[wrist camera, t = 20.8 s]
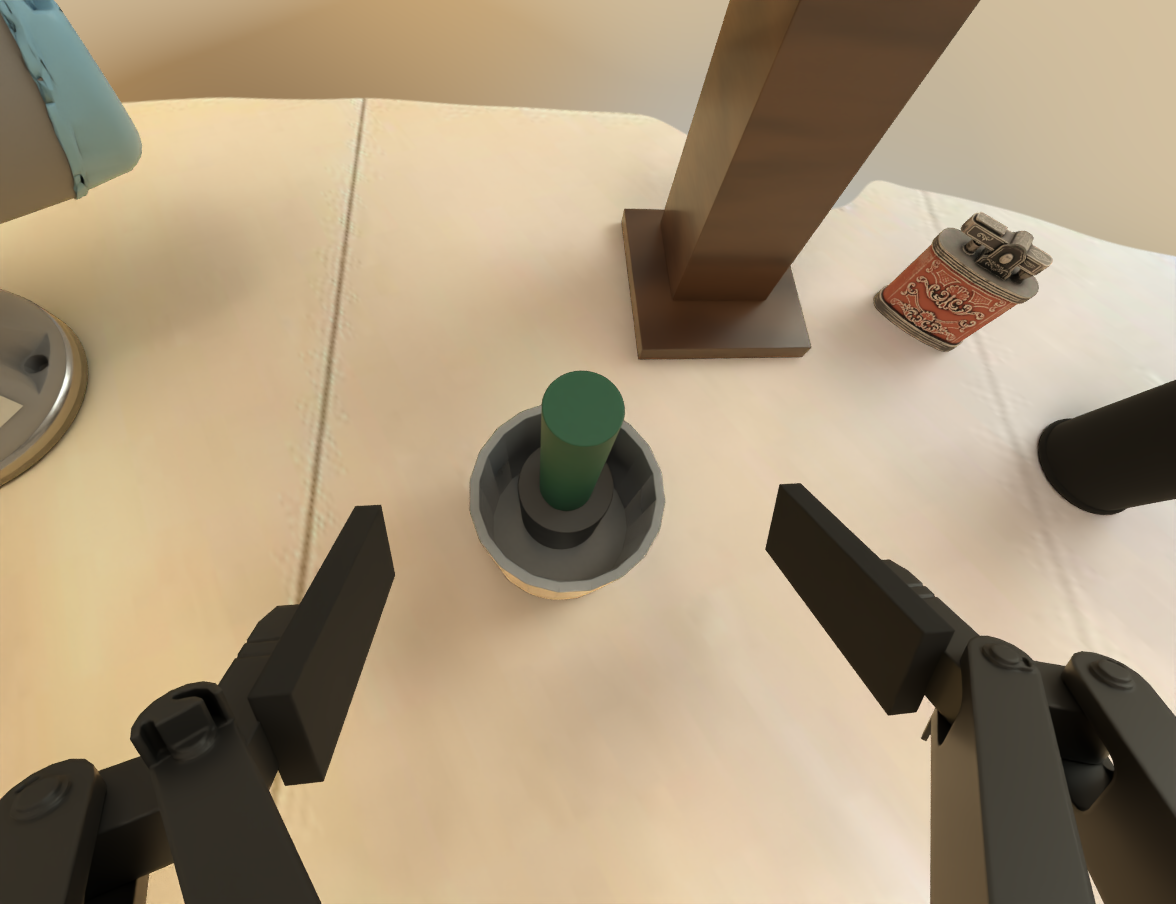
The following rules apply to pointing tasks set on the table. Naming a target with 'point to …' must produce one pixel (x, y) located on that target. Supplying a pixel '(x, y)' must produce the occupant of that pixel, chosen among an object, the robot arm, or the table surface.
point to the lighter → (963, 282)
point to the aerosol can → (1115, 453)
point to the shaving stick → (571, 460)
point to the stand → (772, 166)
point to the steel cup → (595, 559)
